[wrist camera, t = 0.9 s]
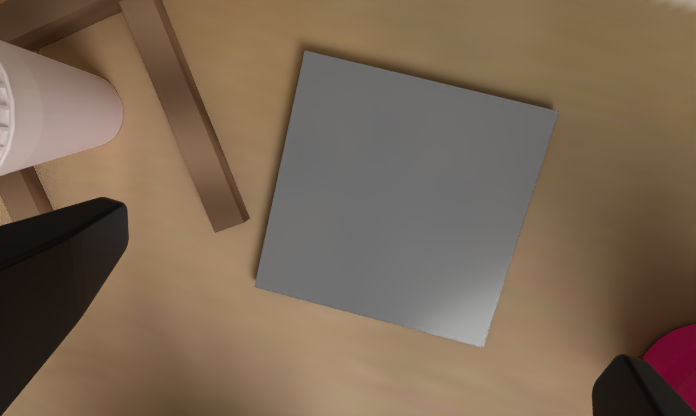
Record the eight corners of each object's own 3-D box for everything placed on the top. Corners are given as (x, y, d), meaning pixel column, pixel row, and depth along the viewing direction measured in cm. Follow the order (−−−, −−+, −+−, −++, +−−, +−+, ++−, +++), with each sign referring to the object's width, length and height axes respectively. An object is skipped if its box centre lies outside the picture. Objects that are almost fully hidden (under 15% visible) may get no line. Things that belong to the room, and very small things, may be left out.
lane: (249, 218, 25) (237, 226, 23) (59, 286, 27) (33, 300, 25) (145, -39, 23) (122, -54, 21) (-51, 52, 25) (-90, 46, 23)
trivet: (480, 342, 25) (482, 347, 24) (257, 283, 25) (254, 286, 25) (554, 111, 23) (558, 111, 22) (306, 52, 23) (304, 50, 23)
